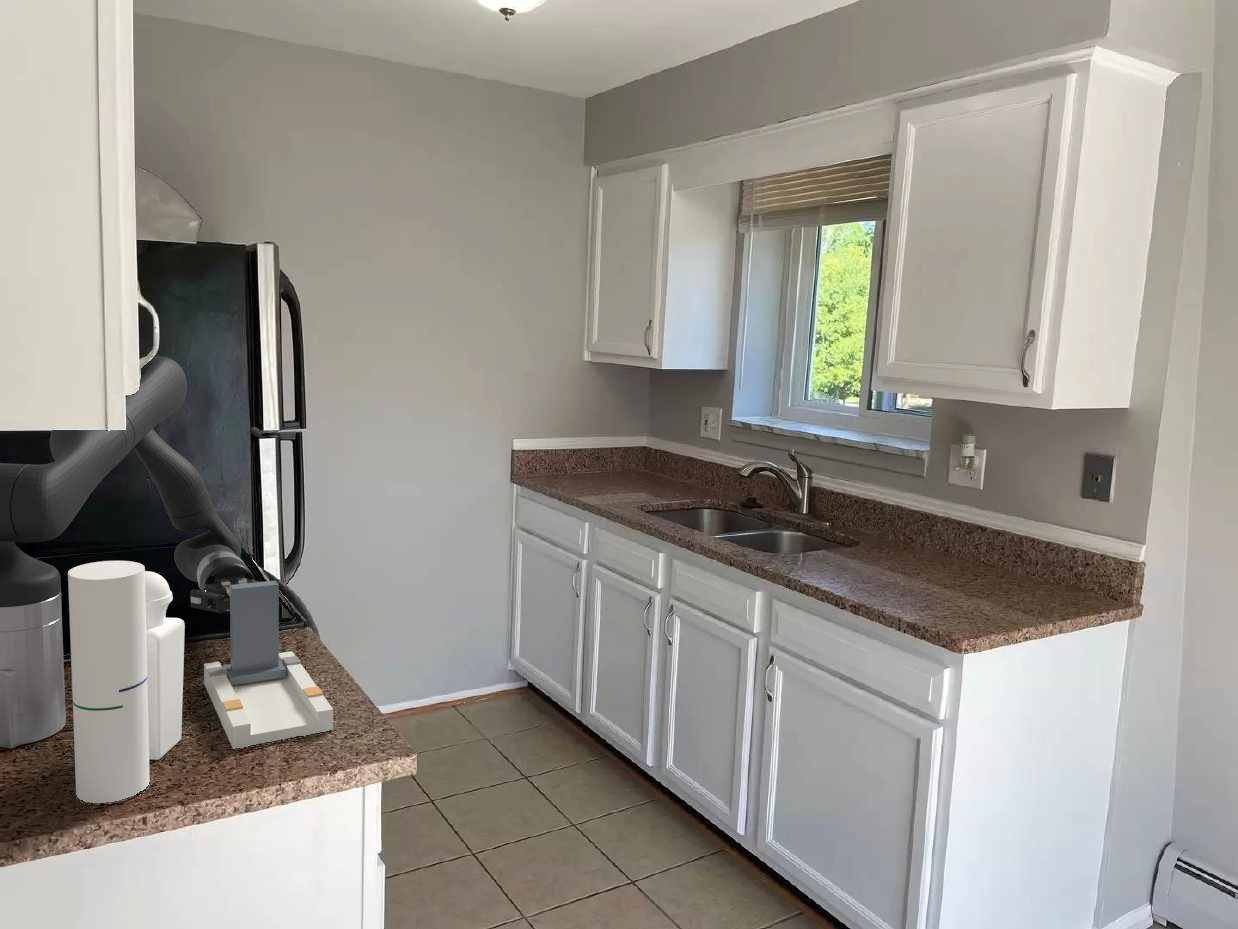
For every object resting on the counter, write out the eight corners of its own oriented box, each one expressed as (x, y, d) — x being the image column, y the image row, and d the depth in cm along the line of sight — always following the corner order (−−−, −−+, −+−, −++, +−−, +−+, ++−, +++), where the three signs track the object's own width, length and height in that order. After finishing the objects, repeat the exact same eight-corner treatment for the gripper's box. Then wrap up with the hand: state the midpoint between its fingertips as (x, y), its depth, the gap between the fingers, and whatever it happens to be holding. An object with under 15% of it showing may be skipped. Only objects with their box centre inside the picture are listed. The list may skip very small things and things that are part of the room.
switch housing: (204, 683, 131) (203, 661, 130) (291, 670, 137) (292, 649, 137) (233, 749, 113) (233, 724, 112) (332, 731, 119) (333, 707, 119)
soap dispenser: (187, 738, 115) (185, 566, 111) (160, 763, 109) (157, 581, 105) (135, 734, 115) (131, 562, 112) (105, 759, 109) (99, 578, 105)
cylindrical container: (162, 786, 104) (158, 570, 99) (96, 812, 98) (89, 583, 94) (128, 766, 107) (123, 557, 103) (63, 790, 102) (54, 569, 98)
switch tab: (223, 673, 131) (222, 582, 129) (278, 665, 135) (278, 577, 133) (229, 686, 127) (229, 592, 124) (286, 677, 130) (286, 587, 128)
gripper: (179, 560, 145) (196, 592, 130) (267, 552, 152) (293, 582, 137) (179, 606, 146) (196, 643, 132) (267, 596, 153) (293, 630, 139)
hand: (246, 612), depth 134 cm, fingers closed
